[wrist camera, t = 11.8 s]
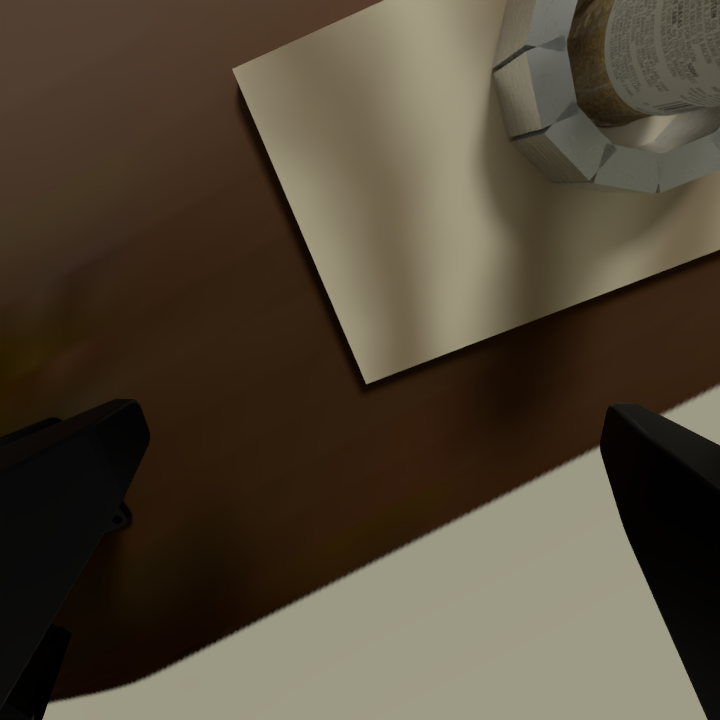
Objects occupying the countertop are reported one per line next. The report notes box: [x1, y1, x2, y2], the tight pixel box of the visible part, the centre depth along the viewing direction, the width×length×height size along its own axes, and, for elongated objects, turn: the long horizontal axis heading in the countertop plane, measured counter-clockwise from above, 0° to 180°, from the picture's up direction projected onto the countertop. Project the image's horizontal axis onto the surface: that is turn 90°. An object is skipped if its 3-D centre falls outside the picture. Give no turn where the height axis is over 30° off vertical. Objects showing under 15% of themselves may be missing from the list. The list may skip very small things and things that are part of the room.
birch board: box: [232, 0, 720, 384], centre depth 18 cm, size 18×13×1 cm
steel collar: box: [492, 0, 720, 194], centre depth 15 cm, size 9×9×3 cm
